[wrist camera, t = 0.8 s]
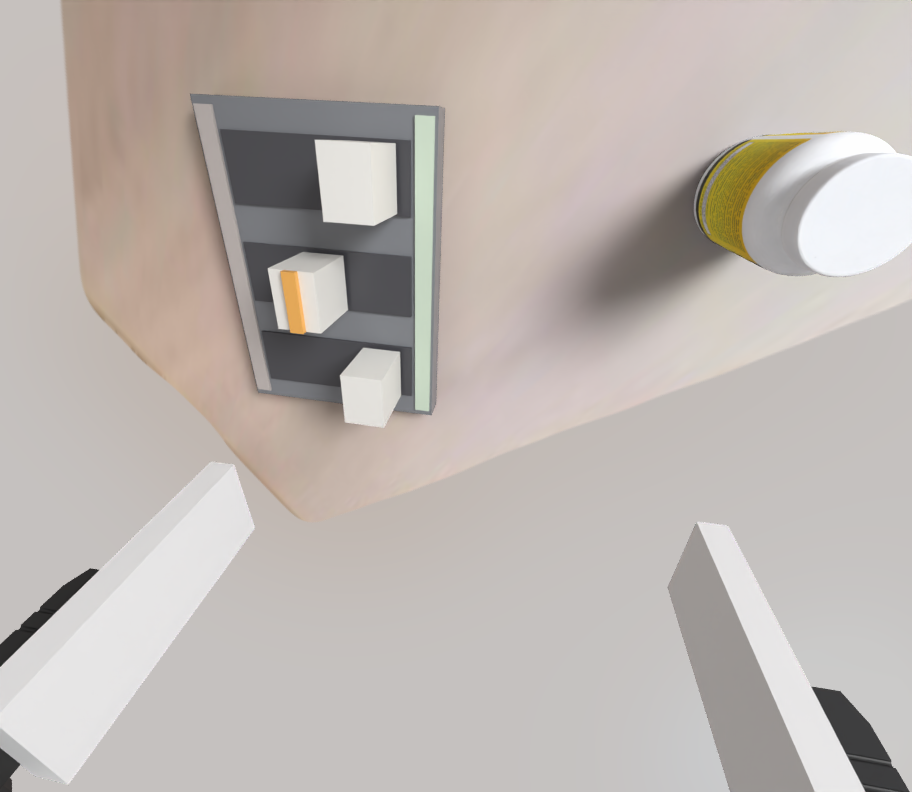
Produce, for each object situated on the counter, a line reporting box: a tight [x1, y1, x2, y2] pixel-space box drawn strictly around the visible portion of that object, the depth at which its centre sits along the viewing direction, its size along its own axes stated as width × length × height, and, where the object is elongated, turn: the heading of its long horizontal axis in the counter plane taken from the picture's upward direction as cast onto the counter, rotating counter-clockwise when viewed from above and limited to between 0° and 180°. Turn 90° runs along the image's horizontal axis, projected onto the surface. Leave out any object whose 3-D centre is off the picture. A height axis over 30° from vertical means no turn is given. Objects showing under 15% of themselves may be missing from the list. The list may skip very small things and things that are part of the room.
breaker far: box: [340, 348, 401, 428], centre depth 32 cm, size 4×3×5 cm
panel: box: [190, 94, 445, 415], centre depth 32 cm, size 22×16×2 cm
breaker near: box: [315, 140, 397, 226], centre depth 25 cm, size 4×3×5 cm
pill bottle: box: [694, 132, 912, 277], centre depth 22 cm, size 6×6×11 cm
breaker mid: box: [268, 252, 348, 334], centre depth 29 cm, size 4×3×5 cm
